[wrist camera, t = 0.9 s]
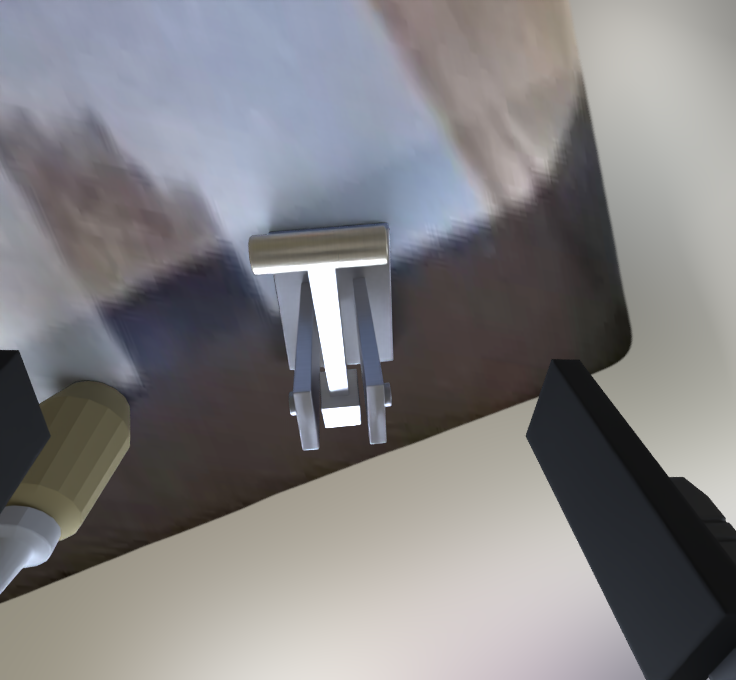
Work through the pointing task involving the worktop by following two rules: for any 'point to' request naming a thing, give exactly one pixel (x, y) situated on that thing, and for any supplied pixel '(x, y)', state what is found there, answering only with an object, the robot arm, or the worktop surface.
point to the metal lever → (325, 298)
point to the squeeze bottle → (64, 473)
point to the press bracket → (361, 339)
